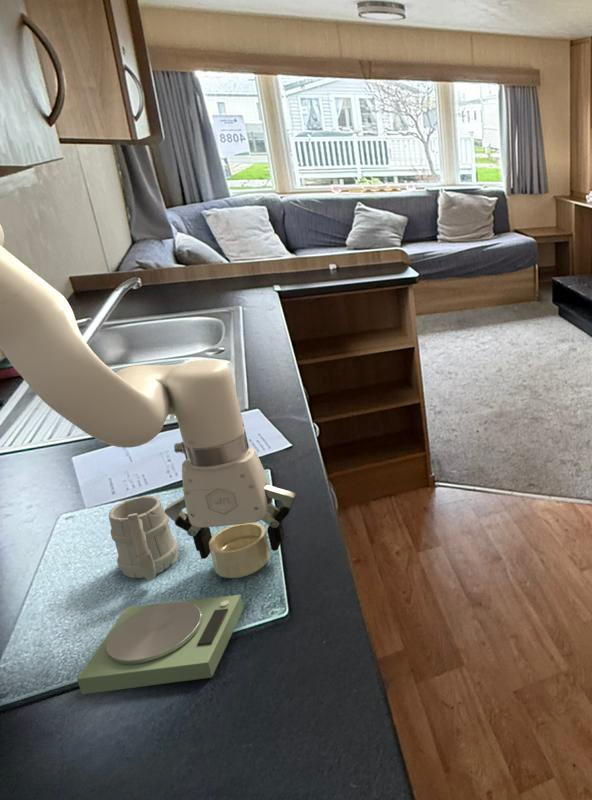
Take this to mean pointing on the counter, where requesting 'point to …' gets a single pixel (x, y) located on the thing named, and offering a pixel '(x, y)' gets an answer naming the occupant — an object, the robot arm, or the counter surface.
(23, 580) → the counter surface
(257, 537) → the bowl
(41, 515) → the counter surface
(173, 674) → the scale
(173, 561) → the mug
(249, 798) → the counter surface
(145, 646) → the platform
